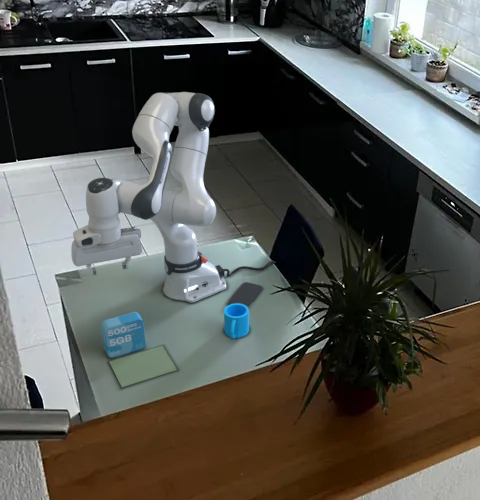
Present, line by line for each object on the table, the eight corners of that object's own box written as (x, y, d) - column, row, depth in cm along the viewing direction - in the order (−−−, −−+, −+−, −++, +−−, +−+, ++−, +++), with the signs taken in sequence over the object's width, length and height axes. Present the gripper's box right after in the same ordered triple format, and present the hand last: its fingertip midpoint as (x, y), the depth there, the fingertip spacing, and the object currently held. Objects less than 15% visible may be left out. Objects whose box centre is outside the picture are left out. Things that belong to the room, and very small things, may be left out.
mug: (227, 321, 237) (226, 302, 233) (250, 323, 237) (250, 304, 233) (219, 343, 227) (219, 323, 223) (244, 346, 227) (244, 326, 223)
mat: (162, 346, 224) (162, 345, 224) (176, 370, 215) (176, 369, 215) (109, 362, 215) (109, 361, 215) (121, 387, 206) (121, 387, 206)
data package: (108, 359, 217) (104, 328, 210) (104, 351, 220) (100, 320, 213) (146, 348, 222) (143, 318, 216) (141, 340, 226) (138, 310, 219)
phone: (263, 285, 256) (246, 307, 243) (263, 287, 256) (246, 309, 244) (244, 281, 257) (227, 303, 245) (244, 283, 258) (227, 305, 245)
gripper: (137, 221, 213) (140, 259, 220) (67, 232, 204) (72, 272, 211) (143, 230, 209) (146, 269, 215) (71, 242, 199) (77, 283, 206)
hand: (109, 271), depth 213 cm, fingers open, 8 cm apart
